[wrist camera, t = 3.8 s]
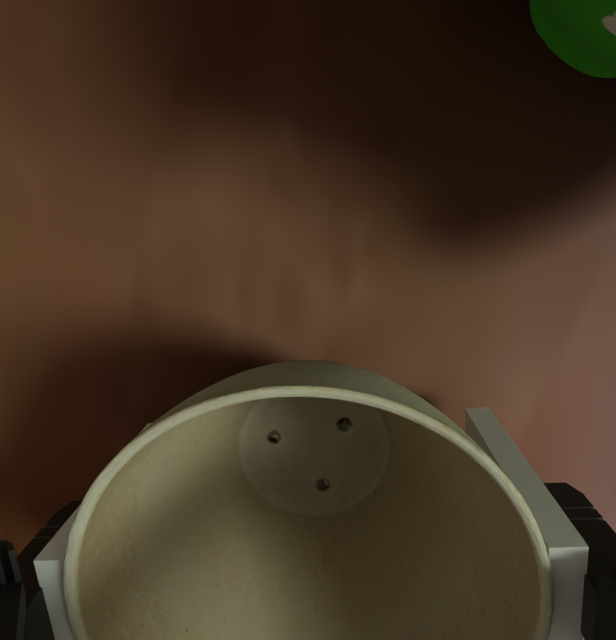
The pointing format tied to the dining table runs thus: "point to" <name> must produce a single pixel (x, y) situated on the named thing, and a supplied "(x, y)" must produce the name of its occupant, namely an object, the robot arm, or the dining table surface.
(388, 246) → the dining table surface
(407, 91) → the dining table surface
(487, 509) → the flower pot
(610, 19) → the piggy bank
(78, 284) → the dining table surface
